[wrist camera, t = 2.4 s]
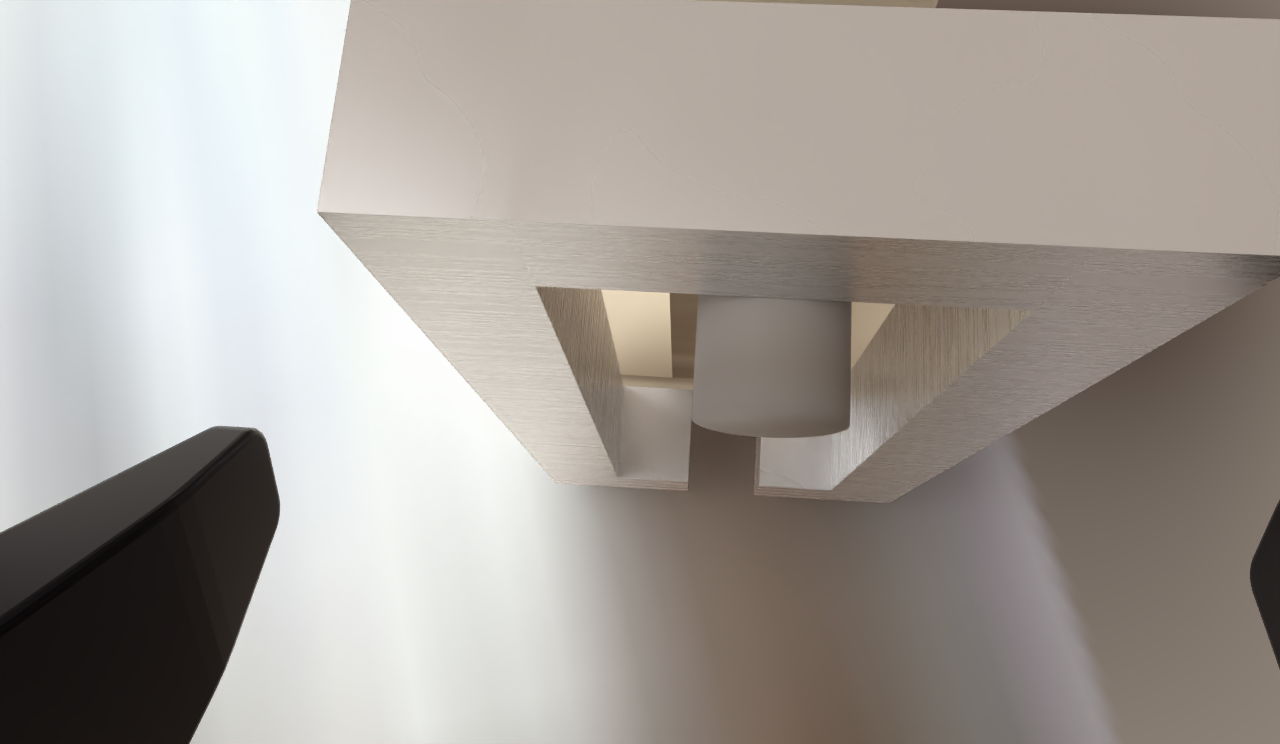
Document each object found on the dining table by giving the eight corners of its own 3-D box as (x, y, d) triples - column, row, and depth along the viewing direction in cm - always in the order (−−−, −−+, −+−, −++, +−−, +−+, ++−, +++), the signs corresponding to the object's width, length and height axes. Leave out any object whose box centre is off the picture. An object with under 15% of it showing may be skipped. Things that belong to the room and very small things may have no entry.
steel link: (888, 503, 17) (1312, 256, 6) (556, 482, 18) (315, 211, 6) (888, 416, 18) (1285, 19, 6) (563, 397, 18) (352, -10, 6)
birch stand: (983, 560, 18) (1601, 430, 6) (458, 526, 19) (42, 345, 7) (971, 47, 21) (1380, -762, 9) (513, 31, 21) (292, -751, 9)
